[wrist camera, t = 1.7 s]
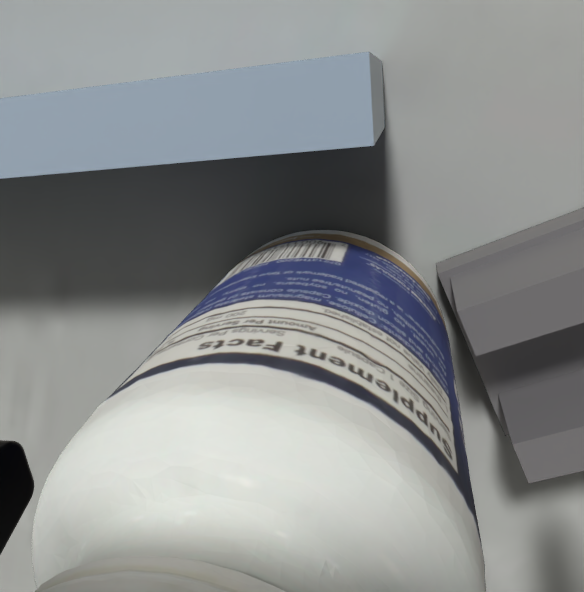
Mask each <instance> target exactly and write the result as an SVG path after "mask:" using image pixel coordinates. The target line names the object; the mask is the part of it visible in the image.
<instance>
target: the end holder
mask: <svg viewBox="0 0 584 592" xmlns="http://www.w3.org/2000/svg"><path fill="white" fill-rule="evenodd" d="M384 128H385V117H384V95H383V73H382V61H381V60H380V59H378V58H377V57H376V56H374V55H373V54H372V53H370V52H363V53H355V54H347V55H339V56H331V57H323V58H315V59H307V60H300V61H292V62H284V63H276V64H268V65H260V66H252V67H244V68H236V69H228V70H220V71H213V72H205V73H197V74H189V75H181V76H173V77H165V78H157V79H149V80H141V81H134V82H126V83H118V84H110V85H102V86H94V87H86V88H78V89H70V90H62V91H55V92H47V93H39V94H31V95H23V96H15V97H7V98H0V179H3V178H14V177H25V176H37V175H48V174H59V173H71V172H82V171H93V170H105V169H116V168H127V167H139V166H150V165H161V164H173V163H184V162H195V161H207V160H218V159H229V158H241V157H252V156H263V155H274V154H286V153H297V152H308V151H320V150H331V149H342V148H354V147H365V146H374V145H375V143H376V141H377V140H378V138H379V136H380V135H381V133H382V131H383V129H384Z"/></svg>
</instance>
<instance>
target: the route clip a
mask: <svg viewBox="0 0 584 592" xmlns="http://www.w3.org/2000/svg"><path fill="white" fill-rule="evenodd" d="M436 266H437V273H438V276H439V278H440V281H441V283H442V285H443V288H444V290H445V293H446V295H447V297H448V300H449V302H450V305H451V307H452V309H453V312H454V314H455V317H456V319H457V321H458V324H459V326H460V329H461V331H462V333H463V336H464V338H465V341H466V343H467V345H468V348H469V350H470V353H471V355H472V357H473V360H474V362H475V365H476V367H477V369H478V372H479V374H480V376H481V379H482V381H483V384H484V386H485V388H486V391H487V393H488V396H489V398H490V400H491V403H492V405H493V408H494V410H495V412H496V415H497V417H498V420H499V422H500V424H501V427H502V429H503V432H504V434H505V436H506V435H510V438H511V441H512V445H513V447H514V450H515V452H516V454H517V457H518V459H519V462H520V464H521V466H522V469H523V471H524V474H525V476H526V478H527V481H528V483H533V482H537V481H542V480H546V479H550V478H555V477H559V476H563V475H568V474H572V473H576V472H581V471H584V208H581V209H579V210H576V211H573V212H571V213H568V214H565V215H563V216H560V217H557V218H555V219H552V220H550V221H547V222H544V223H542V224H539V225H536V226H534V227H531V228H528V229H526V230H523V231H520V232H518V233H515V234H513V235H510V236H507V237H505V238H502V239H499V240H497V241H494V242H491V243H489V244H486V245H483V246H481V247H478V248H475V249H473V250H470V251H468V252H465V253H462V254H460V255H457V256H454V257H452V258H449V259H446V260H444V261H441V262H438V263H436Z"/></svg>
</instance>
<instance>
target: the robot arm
mask: <svg viewBox="0 0 584 592" xmlns="http://www.w3.org/2000/svg"><path fill="white" fill-rule="evenodd" d="M33 491H34V480H33V477H32V474H31V471H30V468H29V465H28V462H27V458H26V455H25V452H24V449H23V447H22V446H21V445H20V444H19V443H18V442H16V441H1V440H0V554H1V553H2V551H3V549H4V547H5V545H6V543H7V542H8V540H9V538H10V536H11V534H12V532H13V531H14V529H15V527H16V525H17V523H18V521H19V520H20V518H21V516H22V514H23V512H24V510H25V508H26V507H27V505H28V503H29V501H30V499H31V497H32V494H33Z"/></svg>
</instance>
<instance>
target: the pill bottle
mask: <svg viewBox="0 0 584 592" xmlns="http://www.w3.org/2000/svg"><path fill="white" fill-rule="evenodd" d="M32 564H33V571H34V578H35V583H36V588H37V590H36V591H35V592H486V583H485V564H484V557H483V550H482V545H481V539H480V533H479V528H478V522H477V516H476V511H475V505H474V499H473V493H472V488H471V482H470V476H469V469H468V462H467V456H466V451H465V441H464V434H463V424H462V420H461V413H460V404H459V399H458V394H457V388H456V382H455V376H454V370H453V363H452V356H451V350H450V343H449V338H448V334H447V330H446V326H445V322H444V317H443V314H442V311H441V309H440V306H439V303H438V301H437V299H436V297H435V295H434V294H433V292H432V290H431V289H430V287H429V286H428V284H427V282H426V281H425V280H424V278H423V277H422V276H421V275H420V274H419V273H418V272H417V270H416V269H415V268H414V267H413V266H412V265H411V264H410V263H408V262H407V261H406V260H405V259H404V258H403V257H402V256H400V255H399V254H397V253H396V252H394V251H393V250H391V249H389V248H387V247H386V246H384V245H382V244H381V243H379V242H377V241H374V240H372V239H370V238H367V237H364V236H361V235H357V234H354V233H349V232H344V231H337V230H310V231H303V232H296V233H292V234H288V235H285V236H282V237H280V238H277V239H275V240H272V241H270V242H268V243H266V244H265V245H263V246H261V247H260V248H258V249H257V250H255V251H254V252H252V253H251V254H249V255H248V256H247V257H246V258H244V259H243V260H242V261H241V262H240V263H238V264H237V265H236V266H235V267H234V268H233V269H232V270H231V271H229V272H228V273H227V274H226V275H225V276H224V278H223V279H222V280H221V281H220V282H219V283H218V284H217V285H216V286H215V287H214V288H213V289H212V290H211V291H210V292H209V294H208V295H207V296H206V297H205V298H204V299H203V300H202V301H201V302H200V303H199V304H198V305H197V306H196V307H195V308H194V309H193V310H192V311H191V313H190V314H189V315H188V316H187V317H186V318H185V319H184V320H183V321H182V322H181V323H180V324H179V325H178V326H177V327H176V328H175V329H174V330H173V331H172V332H171V333H170V334H169V335H168V336H167V337H166V338H165V339H164V341H163V342H162V343H161V344H160V345H159V346H158V347H157V348H156V349H155V350H154V351H153V352H152V353H151V354H150V355H149V356H148V358H147V359H146V360H145V361H144V362H143V363H142V364H141V365H140V366H139V367H138V368H137V369H136V370H135V371H134V372H133V373H132V374H131V375H130V376H129V377H128V378H127V379H126V380H125V381H124V382H123V383H122V384H121V385H120V386H119V387H118V388H117V389H116V390H115V391H114V393H113V394H112V395H111V396H110V397H109V398H107V399H106V400H105V401H104V402H103V403H102V404H101V405H99V406H98V408H97V409H96V410H95V411H94V413H93V414H92V415H91V416H90V418H89V419H88V420H87V421H86V423H85V424H84V425H83V426H82V427H81V429H80V430H79V431H78V432H77V433H76V435H75V436H74V437H73V438H72V439H71V441H70V442H69V443H68V445H67V446H66V448H65V449H64V450H63V452H62V453H61V455H60V456H59V458H58V460H57V462H56V463H55V465H54V467H53V468H52V470H51V472H50V474H49V475H48V478H47V480H46V482H45V485H44V487H43V490H42V492H41V496H40V499H39V502H38V506H37V510H36V514H35V518H34V525H33V533H32Z"/></svg>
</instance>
